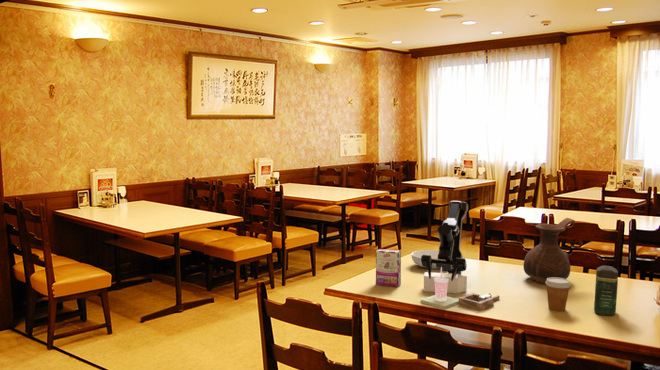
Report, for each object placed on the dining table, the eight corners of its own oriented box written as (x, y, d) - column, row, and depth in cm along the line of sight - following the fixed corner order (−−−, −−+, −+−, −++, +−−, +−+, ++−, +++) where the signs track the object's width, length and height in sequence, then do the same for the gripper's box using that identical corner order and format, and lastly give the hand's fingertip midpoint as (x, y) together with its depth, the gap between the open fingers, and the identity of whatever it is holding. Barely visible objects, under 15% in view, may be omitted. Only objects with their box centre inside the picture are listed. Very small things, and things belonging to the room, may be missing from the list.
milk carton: (423, 291, 250) (466, 293, 246) (423, 276, 249) (467, 278, 246) (424, 287, 257) (466, 289, 253) (424, 272, 256) (466, 274, 252)
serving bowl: (410, 271, 286) (411, 258, 285) (411, 261, 306) (411, 249, 306) (452, 272, 282) (452, 259, 282) (450, 263, 303) (450, 250, 302)
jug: (566, 289, 253) (569, 224, 250) (518, 282, 265) (520, 220, 262) (574, 278, 272) (576, 217, 269) (528, 272, 283) (530, 214, 280)
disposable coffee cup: (568, 306, 229) (569, 278, 228) (570, 313, 220) (571, 284, 219) (543, 304, 232) (544, 276, 231) (544, 311, 223) (545, 282, 222)
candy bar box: (401, 284, 261) (401, 250, 260) (398, 287, 257) (398, 252, 255) (378, 282, 265) (378, 248, 264) (375, 284, 261) (375, 250, 259)
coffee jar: (616, 317, 216) (618, 270, 214) (593, 314, 219) (595, 268, 217) (615, 310, 224) (618, 265, 222) (594, 307, 228) (596, 263, 226)
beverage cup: (442, 296, 238) (442, 264, 237) (451, 300, 233) (452, 267, 231) (430, 298, 236) (431, 266, 234) (439, 302, 230) (440, 269, 229)
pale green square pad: (437, 296, 243) (437, 293, 242) (461, 302, 234) (461, 300, 234) (420, 302, 235) (420, 299, 234) (444, 309, 226) (444, 306, 226)
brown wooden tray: (483, 295, 244) (484, 288, 244) (504, 300, 237) (505, 293, 236) (458, 304, 231) (458, 297, 231) (479, 310, 224) (480, 303, 223)
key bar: (486, 299, 238) (486, 294, 238) (491, 300, 236) (491, 295, 236) (478, 302, 234) (478, 296, 234) (483, 303, 232) (483, 298, 232)
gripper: (469, 260, 243) (465, 291, 234) (427, 256, 250) (421, 286, 241) (467, 246, 235) (462, 278, 226) (423, 242, 242) (417, 273, 233)
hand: (440, 279), depth 232 cm, fingers open, 9 cm apart
